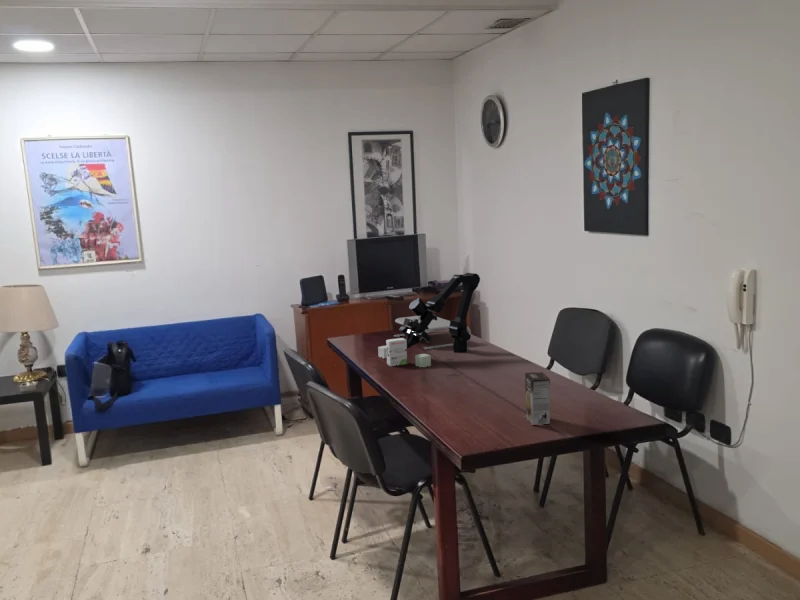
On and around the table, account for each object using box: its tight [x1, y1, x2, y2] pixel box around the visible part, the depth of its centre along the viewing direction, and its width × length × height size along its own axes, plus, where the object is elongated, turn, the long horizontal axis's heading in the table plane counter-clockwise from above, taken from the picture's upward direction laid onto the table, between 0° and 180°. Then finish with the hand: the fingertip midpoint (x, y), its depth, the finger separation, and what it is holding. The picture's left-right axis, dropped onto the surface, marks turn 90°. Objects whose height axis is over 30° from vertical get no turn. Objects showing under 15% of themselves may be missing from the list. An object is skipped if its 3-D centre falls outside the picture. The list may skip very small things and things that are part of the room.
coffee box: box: [524, 371, 551, 425], centre depth 238 cm, size 9×6×16 cm
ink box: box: [385, 337, 408, 367], centre depth 322 cm, size 9×5×12 cm, turn 111°
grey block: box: [377, 345, 387, 359], centre depth 338 cm, size 5×5×5 cm
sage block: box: [414, 353, 432, 368], centre depth 319 cm, size 5×5×5 cm
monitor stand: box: [392, 315, 472, 351], centre depth 371 cm, size 37×28×11 cm
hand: (404, 348), depth 325 cm, fingers closed
